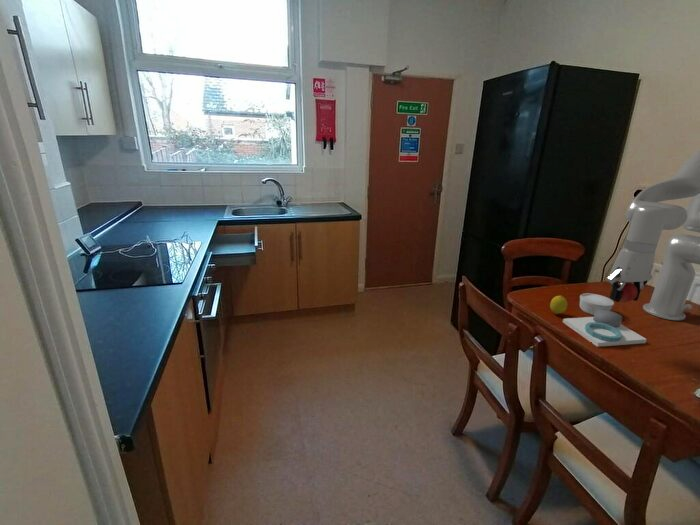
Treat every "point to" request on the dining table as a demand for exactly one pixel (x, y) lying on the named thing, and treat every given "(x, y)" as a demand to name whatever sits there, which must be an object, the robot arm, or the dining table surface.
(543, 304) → the dining table surface
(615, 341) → the carrier plate
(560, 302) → the lemon
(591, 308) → the ramekin
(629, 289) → the pomegranate
